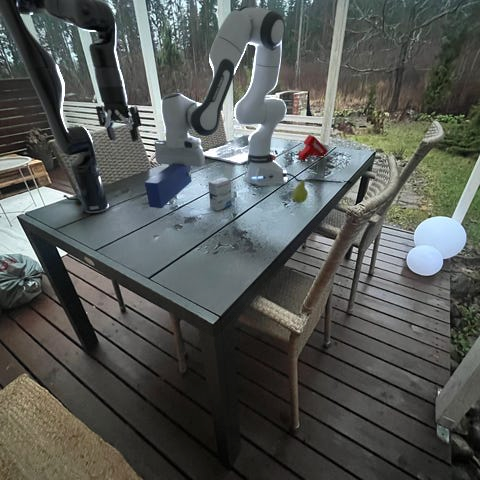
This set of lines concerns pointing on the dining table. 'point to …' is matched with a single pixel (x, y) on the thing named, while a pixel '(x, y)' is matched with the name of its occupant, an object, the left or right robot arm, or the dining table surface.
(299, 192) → the fruit
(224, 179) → the ink box
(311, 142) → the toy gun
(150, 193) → the bar
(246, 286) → the dining table surface
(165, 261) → the dining table surface
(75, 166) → the left robot arm
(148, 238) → the dining table surface
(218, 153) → the relief map
